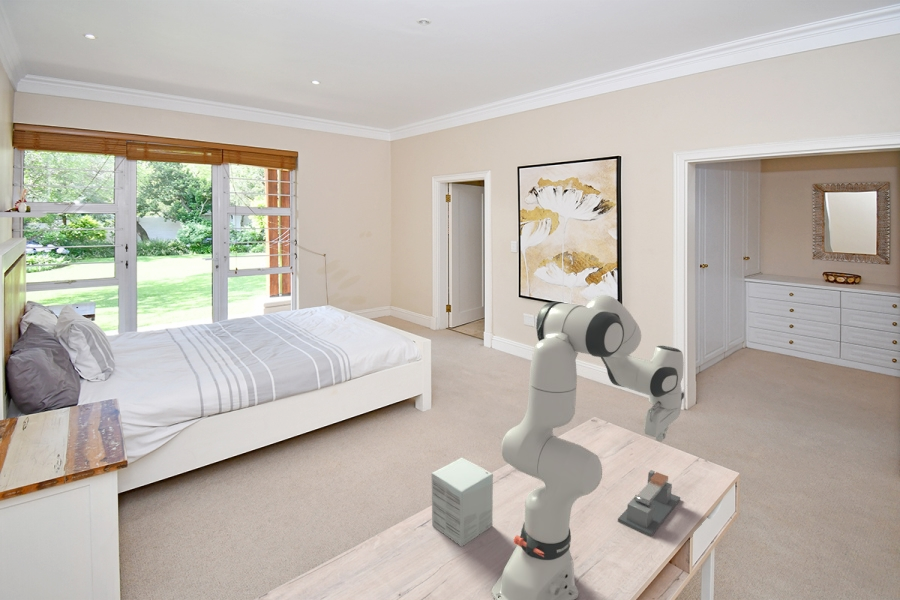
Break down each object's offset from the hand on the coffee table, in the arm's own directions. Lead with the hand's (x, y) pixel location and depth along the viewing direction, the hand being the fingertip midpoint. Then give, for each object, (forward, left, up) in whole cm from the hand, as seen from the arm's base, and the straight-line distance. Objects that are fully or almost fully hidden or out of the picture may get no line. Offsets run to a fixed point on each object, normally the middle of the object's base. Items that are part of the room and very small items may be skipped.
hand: (660, 439), depth 146 cm
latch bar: (-4, 0, -16) cm, 17 cm away
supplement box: (-50, +38, -23) cm, 67 cm away
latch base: (-4, 0, -23) cm, 23 cm away
